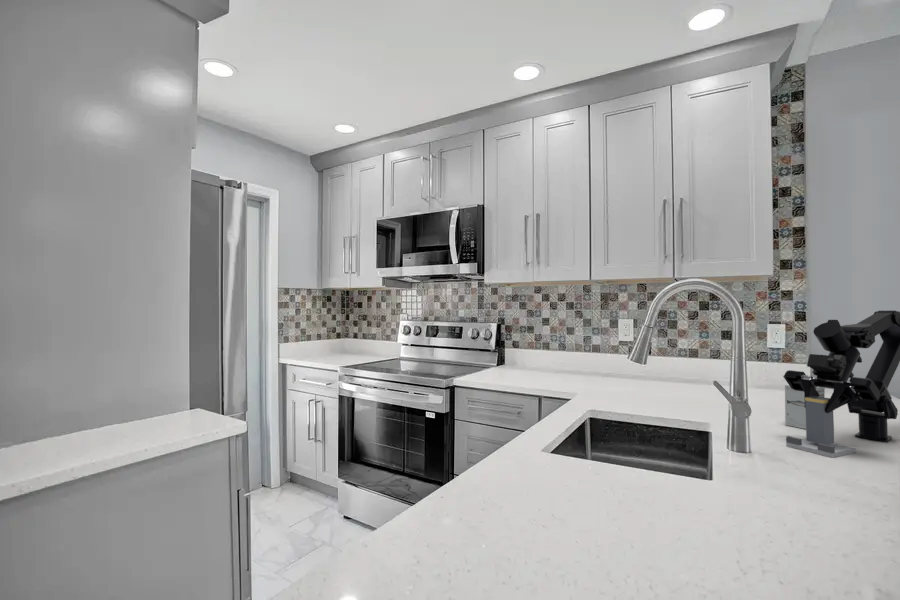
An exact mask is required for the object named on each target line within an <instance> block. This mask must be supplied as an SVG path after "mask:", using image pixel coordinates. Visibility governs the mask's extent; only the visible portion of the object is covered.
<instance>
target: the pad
mask: <svg viewBox="0 0 900 600" xmlns="http://www.w3.org/2000/svg"><path fill="white" fill-rule="evenodd" d="M785 437H786V439H785V444H786V447H789V448H792V449H796V450H801V451H805V452H808V453H812V454H816V455H820V456H825V457H828V458H831V459H833V458H837V457H842V456H847V455H851V454H855V453H856V452H857V449H856V447H852V446H848V445H844V444H838V443H835V442H834V443H831V444H827V445H825V444H821V443H815V442H810V441H807V437H806V438H799V437H795V436H791V435H787V436H785Z"/></svg>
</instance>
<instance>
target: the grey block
mask: <svg viewBox="0 0 900 600" xmlns="http://www.w3.org/2000/svg"><path fill="white" fill-rule="evenodd" d="M829 399H830V397H825V398H824V397H817V396H811V397H805V407H806V429H805V431H806V433H805V435H806V438H807V441H810V442H815V443H821V444H825V445H827V444H831V443H835V424H834V423H835V422H834V421H835V420H834V410H833V411H831V412H830V413H826V412H825V408H826V405H827V403H828V401H829Z"/></svg>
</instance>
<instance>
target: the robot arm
mask: <svg viewBox="0 0 900 600" xmlns="http://www.w3.org/2000/svg"><path fill="white" fill-rule="evenodd" d="M813 334H814V336H815V338H816V339H817V341H818V342H819V344H820V346H821V347H822V349H823V350H824V351H827V352H828V355H827V354H816V353H815V354H813V353H810V354H809V355H808V358H807V363H806V367H807V368H810V369H812V374H813V375H808V374H806V373H805V371H799V370H798V371H797V370H792V369H791V370H787V371H785V373H784V375H783V378H784V380H785V381H786V384H789V386H790V387H791V388H792V389H793V390H796V391H803V392H804V399H805V397H811V396H817V397H818V396H819V393H818V392H817V390H816V388H817V387H821V388H825V389H830V390H833V392H832V394H831V395H830V397H829V398H830V399H829V401H828V403H827V405H826V408H825V412H826V413H830V412H831V411H833V412H834V411H836V410H838V409H839V408H841V407H843V406H845V405H847V408H848V412H849V413H850V414H857V416H858V432H857V433H856V434H854V437H856V438H859V439H860V438H862V439H866V440H871V441H877V442H878V441H879V442H885V443H886V442H887V443H888V442H889V441H890V440H891V439H892V438H893V436H891V435H888V433H889V432H888V431H889V430H888V420H897V416H898V415H899V414H898V408H897V407H896V405H895V403H894V402H893V400H892V399H893V397H892V396H891V394H890V391H889V390H888V387H889V386H890V383H891V382H892V379H893V377H894V375H895V373H896V371H897V369H898V367H899V364H900V311H897V310H896V309H895V310H877V311H875V312H873V314H871V315H870V316H868V317H866V318H864V319H863V320H861V321H859V322H858V323H853V324H843V325H841V323H840V322H839V320H838V319H828V320H827V321H826V322H823V323H821V324H819V325H817V326H816V327H814V328H813ZM878 335H879V336H880V338H881V340H882V344H881V345H880V348H879V350H878V352H877V354H876V356H875V358H874V360H873V362H872V364H871V366H870V367H869V370H868V372H867V374H866V375H865V378H864V377H856V376H855V375H854V373H853V371H854V369H855V366H856V364H857V363H862V362H863V359H862V356H861V352H860V351H859V349H869V348H871V346H872V345H873V344H875V343H876V337H877V336H878ZM813 376H816V377H813ZM848 381H849V382H848ZM805 408H806V407H805Z"/></svg>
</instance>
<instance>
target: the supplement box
mask: <svg viewBox="0 0 900 600" xmlns="http://www.w3.org/2000/svg"><path fill="white" fill-rule="evenodd" d="M825 389H826V388H821V387H817V388H816V390H817V392H818V393H819V396H818V397H824V398H826V397H825ZM784 410H785V411H784V415H785V416H784V417H785V418H784V420H785V423H784V424H785V426H789V427H795V428H799V429H804V430H806V408H805V399H804V392H803V391H796V390H793V389H792V388H791V387H790V386H789V384H788V383H785V384H784Z"/></svg>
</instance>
